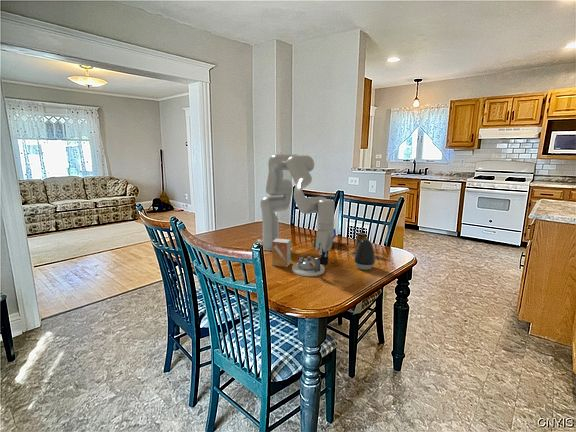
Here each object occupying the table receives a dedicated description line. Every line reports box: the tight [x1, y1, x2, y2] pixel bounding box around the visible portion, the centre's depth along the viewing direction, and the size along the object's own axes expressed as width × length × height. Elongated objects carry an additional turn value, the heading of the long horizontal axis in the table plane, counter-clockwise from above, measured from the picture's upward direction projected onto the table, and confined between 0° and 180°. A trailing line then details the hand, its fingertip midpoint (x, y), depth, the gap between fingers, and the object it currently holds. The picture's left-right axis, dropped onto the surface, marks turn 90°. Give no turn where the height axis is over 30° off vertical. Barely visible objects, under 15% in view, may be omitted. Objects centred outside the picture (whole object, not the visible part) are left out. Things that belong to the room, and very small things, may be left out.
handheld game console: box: [313, 228, 337, 249], centre depth 200 cm, size 16×13×9 cm
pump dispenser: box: [353, 238, 376, 271], centre depth 158 cm, size 10×10×15 cm
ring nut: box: [297, 255, 321, 271], centre depth 153 cm, size 16×10×8 cm, turn 22°
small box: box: [271, 238, 292, 268], centre depth 163 cm, size 8×6×13 cm
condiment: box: [350, 232, 368, 256], centre depth 181 cm, size 7×8×12 cm
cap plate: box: [291, 262, 325, 277], centre depth 156 cm, size 16×16×2 cm
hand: (324, 264), depth 148 cm, fingers closed
